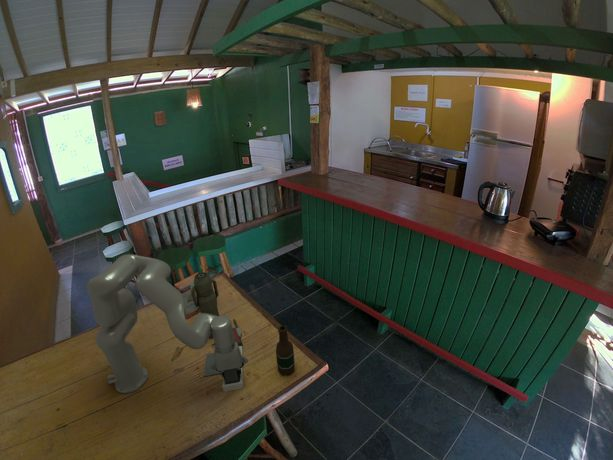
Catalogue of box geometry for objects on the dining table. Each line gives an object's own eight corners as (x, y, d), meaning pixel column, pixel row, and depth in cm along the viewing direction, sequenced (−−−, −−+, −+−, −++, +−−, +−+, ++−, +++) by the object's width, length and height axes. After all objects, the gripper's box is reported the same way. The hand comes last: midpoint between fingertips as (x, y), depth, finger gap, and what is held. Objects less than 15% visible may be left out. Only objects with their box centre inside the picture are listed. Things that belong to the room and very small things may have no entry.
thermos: (229, 329, 160) (217, 272, 144) (209, 343, 152) (195, 285, 136) (218, 321, 165) (206, 266, 149) (199, 335, 157) (184, 277, 141)
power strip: (223, 391, 129) (220, 378, 125) (225, 353, 146) (222, 341, 142) (243, 388, 130) (240, 375, 126) (242, 350, 147) (240, 338, 144)
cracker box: (188, 320, 167) (179, 288, 157) (182, 315, 170) (173, 283, 161) (210, 306, 176) (203, 275, 167) (204, 301, 180) (197, 271, 170)
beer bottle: (275, 365, 139) (270, 324, 128) (291, 359, 142) (288, 318, 131) (281, 379, 133) (276, 337, 122) (298, 372, 135) (295, 331, 124)
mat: (204, 377, 135) (204, 376, 135) (206, 355, 146) (206, 354, 145) (223, 373, 136) (223, 372, 136) (224, 352, 147) (224, 351, 147)
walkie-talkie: (247, 346, 150) (236, 320, 166) (246, 340, 148) (235, 314, 164) (229, 353, 146) (219, 326, 162) (227, 347, 144) (218, 320, 160)
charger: (226, 384, 129) (223, 370, 125) (227, 374, 133) (223, 360, 130) (238, 382, 130) (236, 368, 126) (238, 372, 134) (236, 358, 130)
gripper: (202, 355, 118) (210, 387, 126) (247, 348, 121) (253, 379, 129) (204, 340, 125) (212, 372, 133) (247, 333, 127) (252, 364, 136)
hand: (232, 375), depth 131 cm, fingers closed on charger, 5 cm apart
